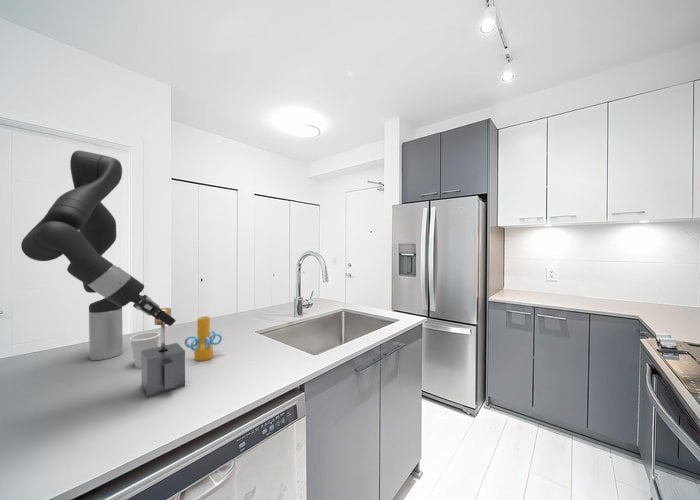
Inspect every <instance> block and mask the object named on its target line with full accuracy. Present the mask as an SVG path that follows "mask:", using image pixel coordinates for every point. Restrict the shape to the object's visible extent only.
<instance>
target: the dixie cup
mask: <svg viewBox="0 0 700 500" xmlns="http://www.w3.org/2000/svg"><path fill="white" fill-rule="evenodd" d="M160 336H161V332H158V331H148V332H141V333H138V334H135V335H132V336H130V338H129V340H130V344H131V348H132V354H133V360H134V361H133V362H134V366H135V368H139V369H140V368H141V369H142V362H141V351H142V350H147V349H151V348H156V347H159V340H160Z"/></svg>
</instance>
